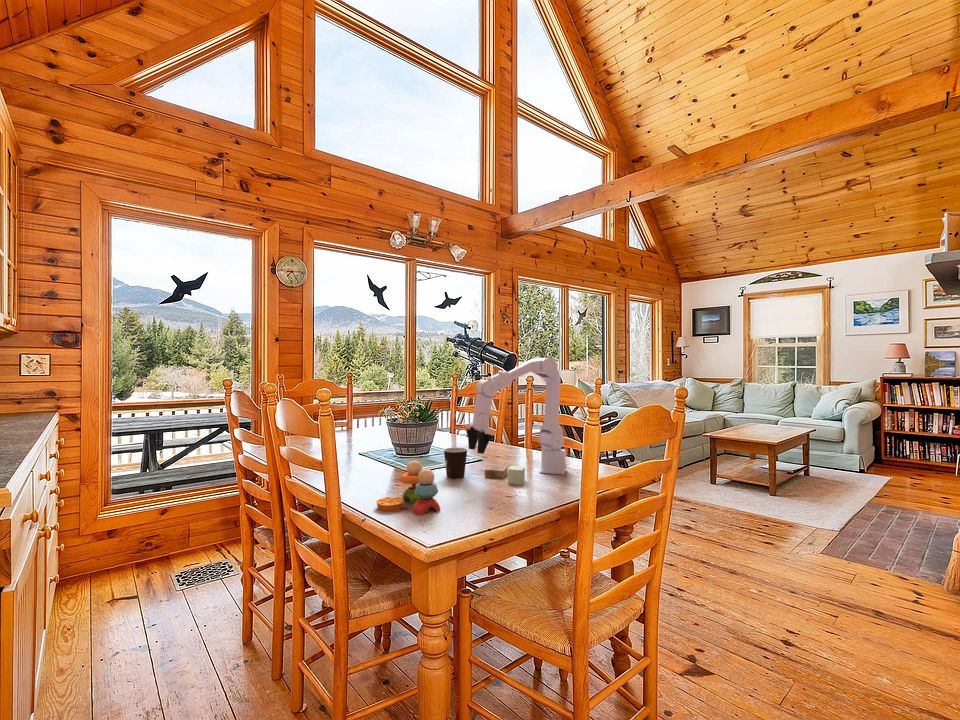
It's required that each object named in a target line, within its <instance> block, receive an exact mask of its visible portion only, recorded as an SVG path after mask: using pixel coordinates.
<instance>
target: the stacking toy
mask: <svg viewBox="0 0 960 720" xmlns="http://www.w3.org/2000/svg"><path fill="white" fill-rule="evenodd" d="M422 467H423V466H422V464H421V462H420V461H418V460H414V459H413V460H411V461H409V462H408V463H407V465H406V472H405V473H403V474H402V475H401V478H400V482H401V483H402V484H406V485H411V486H410V487H407V489H406V490H404V492H403V493H402V495H401V496H402V497H399V496H398V497H397V496H388V497H387V496H386V497H382V498H379V499H377V500H376V506H377V509H378V510H379V511H380V512H384V513H385V512H387V513H388V512H389V513H390V512H396V511H399V510H401V509H402V508H403V505H404V502H405V501H404V500H409V504H410V505H412V506H413V507H412V513H413V514H414V515H416V516H423V515H425V513H426V512H430V509H432V510H434V511H436V512H440V511H441V507H440V504H439V501H437V500H436V499H435V498H434V497H435V496H436V495H437V494H438V492H439V489H438V487H437V484H436V483H435V482H434V481H435V473H434V471H432V470H431V469H429V468H424V469H423V468H422Z"/></svg>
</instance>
